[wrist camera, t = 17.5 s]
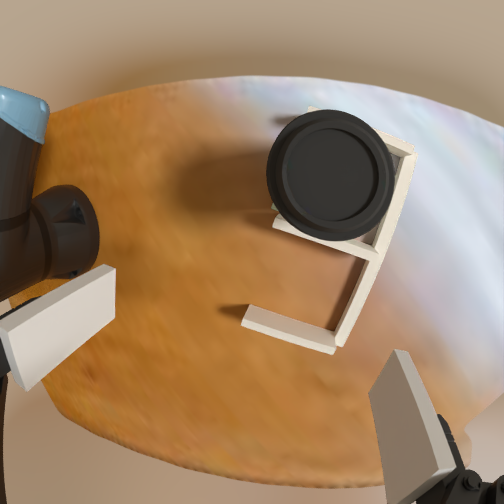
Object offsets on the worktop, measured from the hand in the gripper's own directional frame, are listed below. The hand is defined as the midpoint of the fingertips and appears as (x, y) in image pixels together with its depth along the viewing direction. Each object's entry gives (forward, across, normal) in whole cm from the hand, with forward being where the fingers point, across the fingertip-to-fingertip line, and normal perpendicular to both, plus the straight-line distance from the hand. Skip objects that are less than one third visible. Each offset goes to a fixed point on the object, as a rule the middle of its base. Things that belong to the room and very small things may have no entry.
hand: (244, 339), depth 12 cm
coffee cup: (+22, +3, +8) cm, 24 cm away
